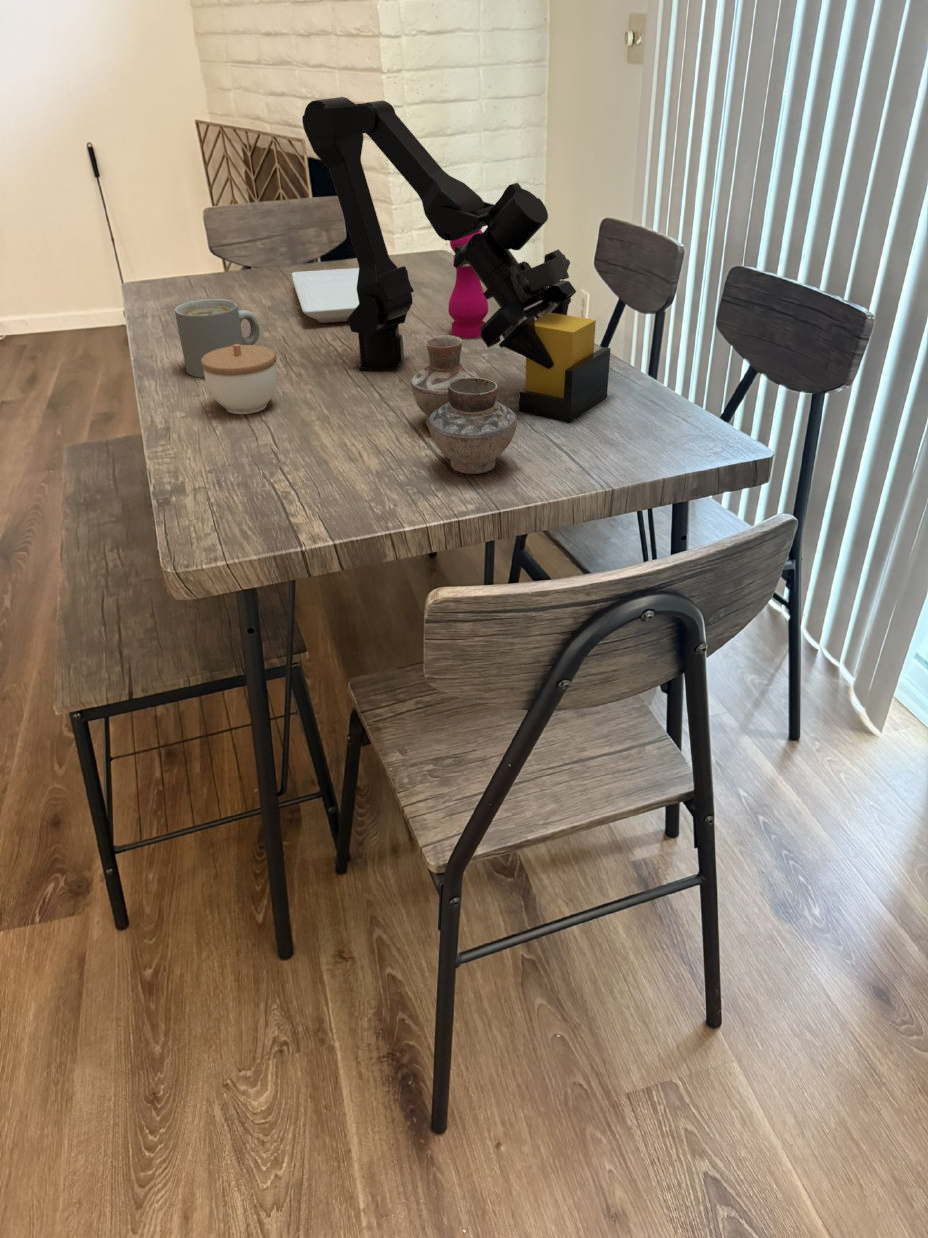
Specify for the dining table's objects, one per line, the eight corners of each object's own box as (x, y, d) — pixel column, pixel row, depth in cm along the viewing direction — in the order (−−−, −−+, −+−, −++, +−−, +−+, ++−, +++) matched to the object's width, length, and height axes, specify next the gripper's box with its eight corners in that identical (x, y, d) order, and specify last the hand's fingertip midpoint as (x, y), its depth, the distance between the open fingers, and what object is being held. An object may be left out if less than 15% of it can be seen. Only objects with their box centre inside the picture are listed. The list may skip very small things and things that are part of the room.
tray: (369, 281, 195) (368, 265, 193) (394, 322, 169) (392, 303, 167) (292, 288, 192) (289, 271, 190) (304, 330, 166) (302, 311, 164)
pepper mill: (442, 336, 161) (438, 217, 150) (458, 325, 167) (455, 209, 156) (479, 340, 159) (478, 220, 148) (494, 329, 165) (494, 211, 153)
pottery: (473, 407, 133) (472, 326, 126) (528, 477, 113) (530, 385, 106) (399, 416, 130) (394, 334, 124) (441, 489, 111) (438, 396, 104)
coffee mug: (193, 381, 144) (181, 319, 139) (181, 363, 152) (168, 303, 146) (274, 368, 149) (265, 307, 143) (257, 351, 157) (249, 292, 151)
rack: (518, 411, 131) (519, 360, 127) (557, 386, 139) (559, 338, 135) (569, 422, 127) (572, 371, 123) (607, 397, 135) (610, 347, 131)
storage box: (524, 405, 133) (525, 323, 126) (546, 391, 138) (549, 312, 131) (569, 415, 130) (573, 332, 123) (590, 400, 134) (596, 319, 128)
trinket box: (220, 425, 129) (209, 361, 124) (202, 402, 137) (190, 340, 131) (291, 411, 133) (283, 348, 128) (270, 389, 141) (261, 329, 135)
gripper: (498, 246, 116) (569, 344, 117) (567, 221, 129) (630, 309, 130) (450, 300, 125) (517, 391, 126) (519, 271, 137) (579, 354, 138)
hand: (563, 359), depth 130 cm, fingers closed on storage box, 7 cm apart
